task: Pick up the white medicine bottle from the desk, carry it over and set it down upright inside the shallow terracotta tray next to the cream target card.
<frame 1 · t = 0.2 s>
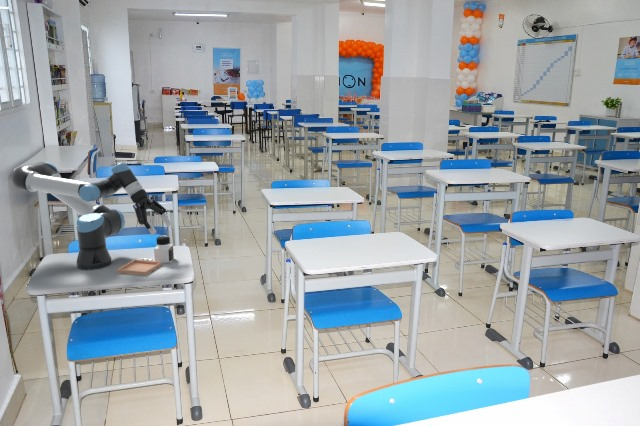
hand: (162, 229, 250), 15 cm above the table, tool tilted 35°, fingers open, 13 cm apart
medicine bottle: (164, 260, 253), on the table
tray: (139, 268, 241), on the table
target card: (144, 260, 252), on the table
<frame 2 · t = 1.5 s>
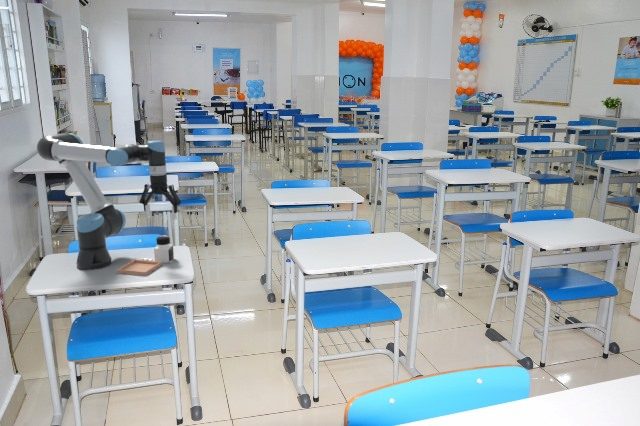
hand: (161, 218, 248), 21 cm above the table, tool pointing down, fingers open, 13 cm apart
nothing on the table moved.
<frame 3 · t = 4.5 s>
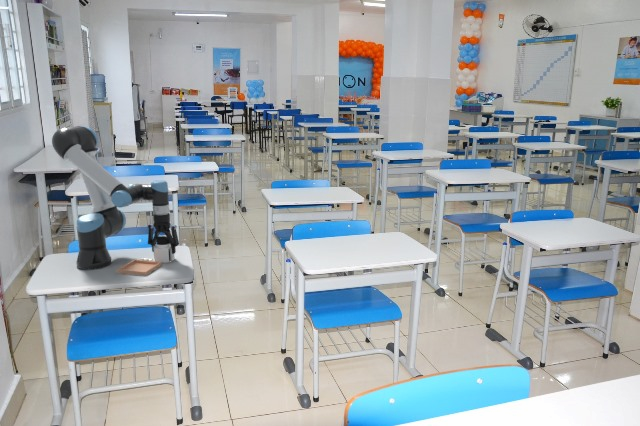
hand: (164, 259, 253), 1 cm above the table, tool pointing down, fingers closed on medicine bottle, 8 cm apart
medicine bottle: (164, 260, 253), on the table, touching gripper
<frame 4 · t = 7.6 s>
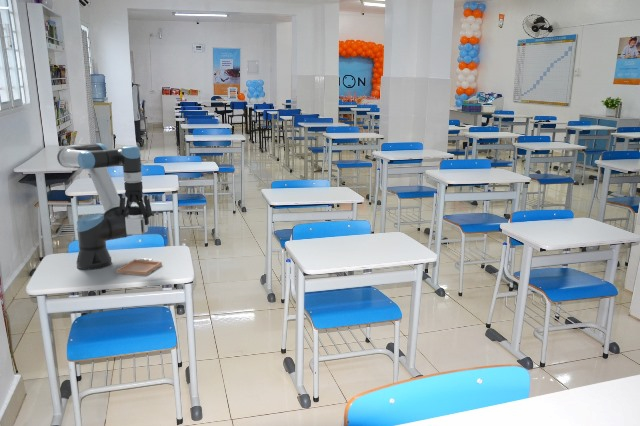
hand: (137, 230, 237), 18 cm above the table, tool pointing down, fingers closed on medicine bottle, 8 cm apart
medicine bottle: (137, 232, 237), point 17 cm above the table, touching gripper
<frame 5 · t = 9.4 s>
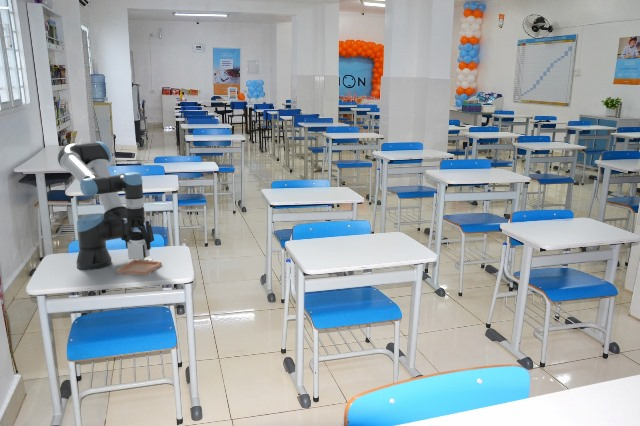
hand: (139, 255, 240), 7 cm above the table, tool pointing down, fingers closed on medicine bottle, 8 cm apart
medicine bottle: (139, 257, 240), point 6 cm above the table, touching gripper
when the fingers open (3 cm above the table, at t = 11.1 s): medicine bottle drops 2 cm, resting on tray.
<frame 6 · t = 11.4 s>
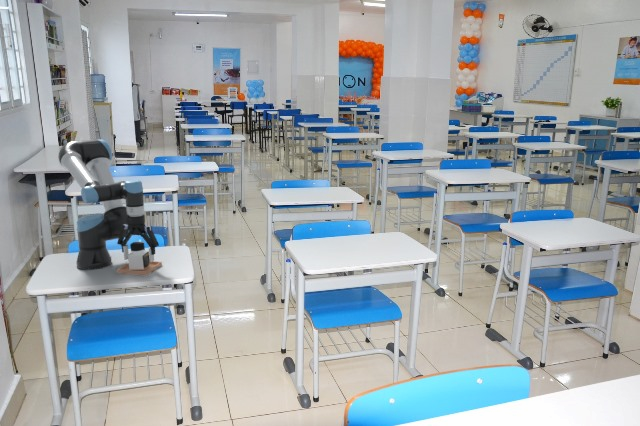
hand: (139, 260, 240), 4 cm above the table, tool pointing down, fingers open, 12 cm apart
medicine bottle: (139, 268, 241), resting on tray
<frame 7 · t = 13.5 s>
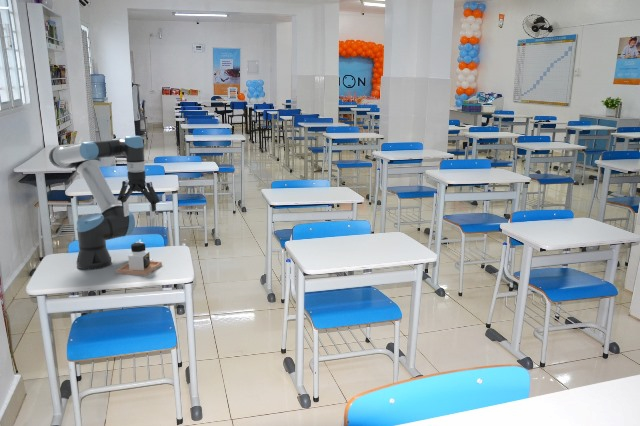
hand: (139, 217, 239), 24 cm above the table, tool pointing down, fingers open, 13 cm apart
nothing on the table moved.
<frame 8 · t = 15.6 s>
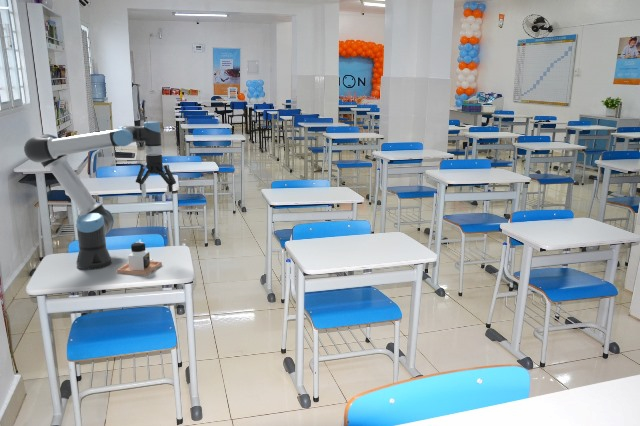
hand: (156, 197, 256), 29 cm above the table, tool pointing down, fingers open, 13 cm apart
nothing on the table moved.
at the end: medicine bottle inside the target area on the tray (0.0 cm from its centre), point 0.2 cm above the tray's base; medicine bottle tilted 0°; the gripper is holding nothing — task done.
